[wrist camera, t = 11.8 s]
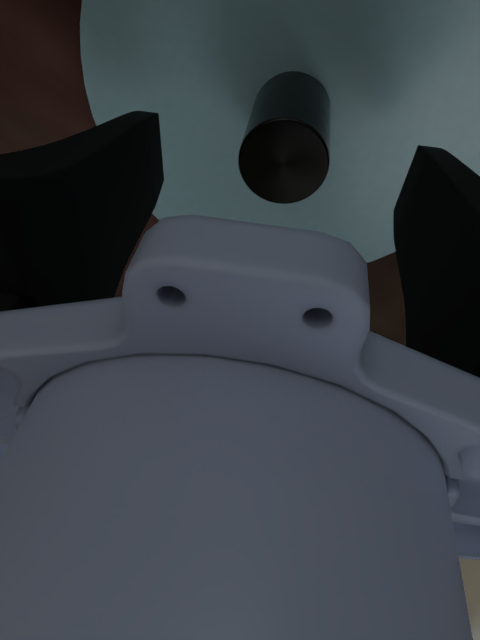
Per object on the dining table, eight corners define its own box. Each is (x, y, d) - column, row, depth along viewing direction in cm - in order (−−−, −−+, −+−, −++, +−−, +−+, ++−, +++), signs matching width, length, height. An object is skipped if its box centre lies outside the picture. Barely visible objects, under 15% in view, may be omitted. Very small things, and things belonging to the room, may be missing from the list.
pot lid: (674, -209, 9) (841, -235, 6) (423, 279, 20) (439, 357, 17) (36, -257, 10) (-95, -300, 7) (124, 236, 21) (88, 304, 18)
